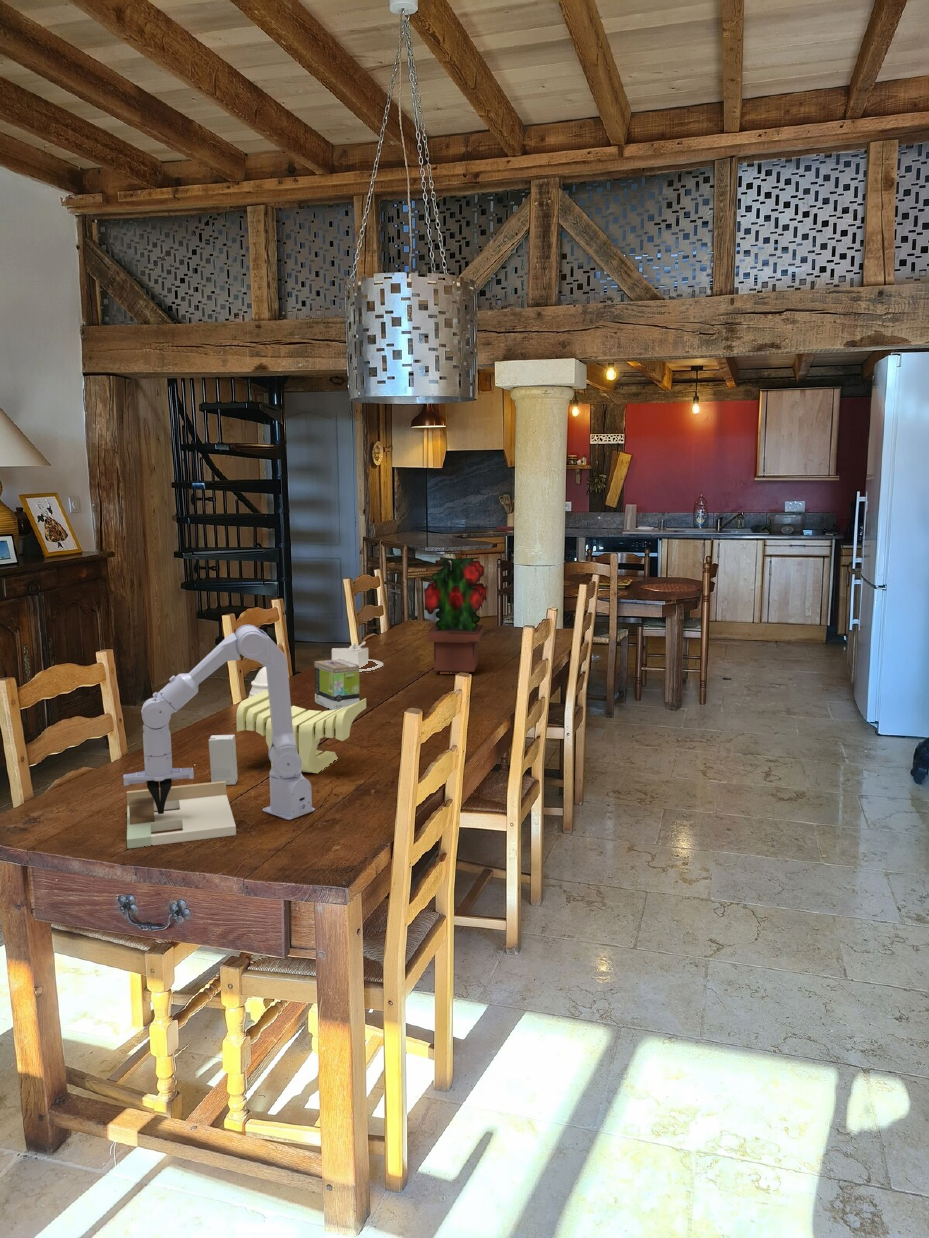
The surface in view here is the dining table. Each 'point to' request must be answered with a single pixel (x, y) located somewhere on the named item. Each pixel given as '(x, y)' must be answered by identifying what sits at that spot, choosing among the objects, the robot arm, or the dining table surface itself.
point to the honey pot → (259, 683)
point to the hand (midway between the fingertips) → (160, 812)
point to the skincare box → (223, 759)
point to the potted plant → (456, 613)
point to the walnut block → (141, 810)
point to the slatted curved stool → (301, 727)
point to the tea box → (336, 683)
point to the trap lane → (184, 816)
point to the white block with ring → (355, 656)
